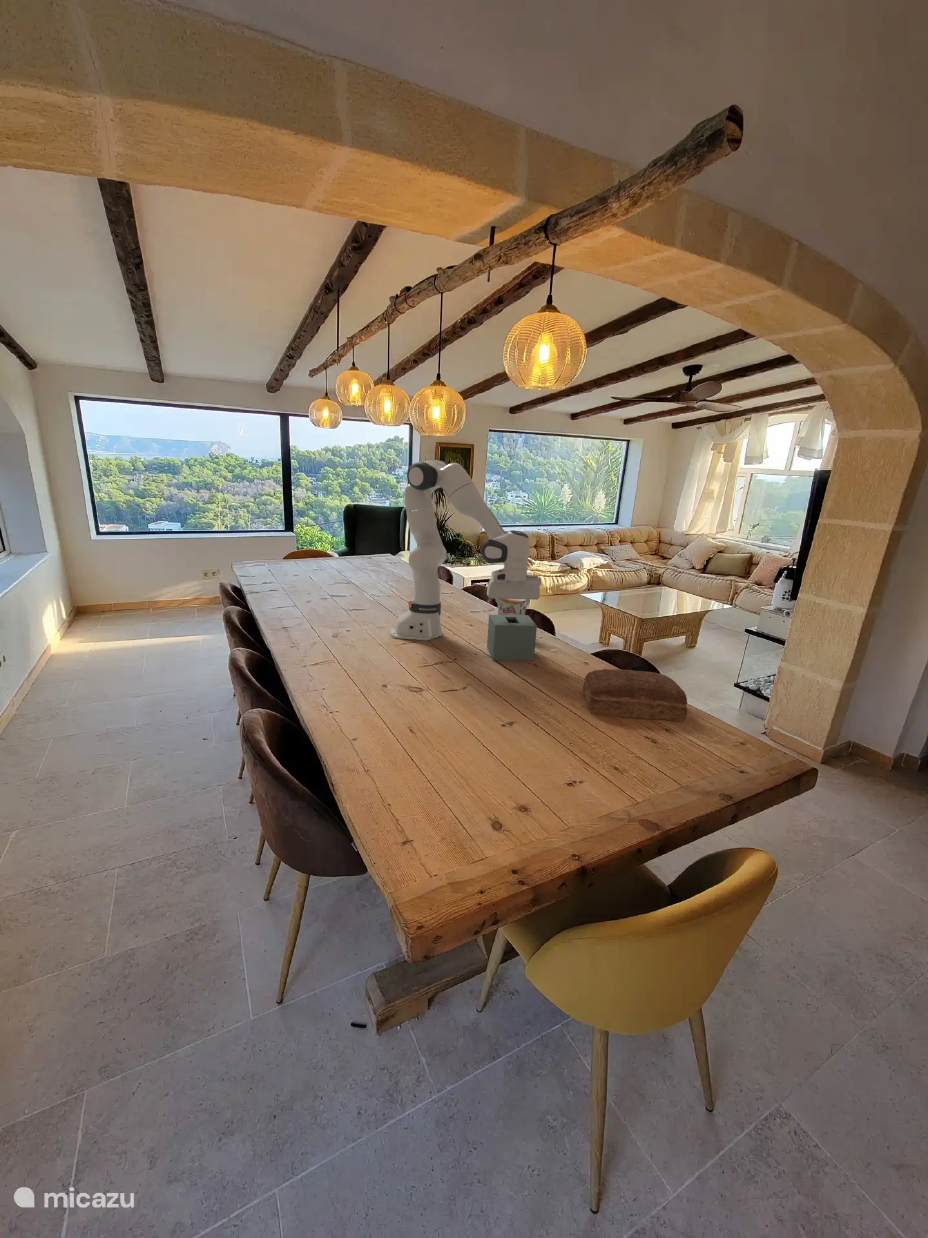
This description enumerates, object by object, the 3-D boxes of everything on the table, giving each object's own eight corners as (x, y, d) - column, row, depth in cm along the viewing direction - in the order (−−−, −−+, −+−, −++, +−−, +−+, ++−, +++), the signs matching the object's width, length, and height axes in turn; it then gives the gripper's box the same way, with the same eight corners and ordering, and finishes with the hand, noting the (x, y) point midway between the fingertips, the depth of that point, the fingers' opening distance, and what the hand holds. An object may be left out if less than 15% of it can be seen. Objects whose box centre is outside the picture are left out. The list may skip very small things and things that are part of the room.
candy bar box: (496, 633, 218) (498, 597, 213) (501, 630, 222) (503, 595, 217) (518, 638, 212) (521, 602, 208) (523, 635, 216) (526, 599, 212)
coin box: (492, 660, 186) (495, 625, 182) (486, 647, 199) (489, 614, 195) (533, 660, 188) (537, 625, 184) (525, 647, 201) (528, 615, 197)
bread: (687, 724, 145) (695, 689, 142) (587, 715, 147) (592, 680, 144) (670, 699, 161) (676, 667, 158) (579, 691, 163) (583, 659, 160)
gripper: (539, 573, 189) (536, 608, 193) (487, 571, 187) (485, 606, 191) (544, 577, 183) (540, 612, 187) (490, 575, 181) (487, 611, 185)
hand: (511, 609), depth 189 cm, fingers open, 8 cm apart
